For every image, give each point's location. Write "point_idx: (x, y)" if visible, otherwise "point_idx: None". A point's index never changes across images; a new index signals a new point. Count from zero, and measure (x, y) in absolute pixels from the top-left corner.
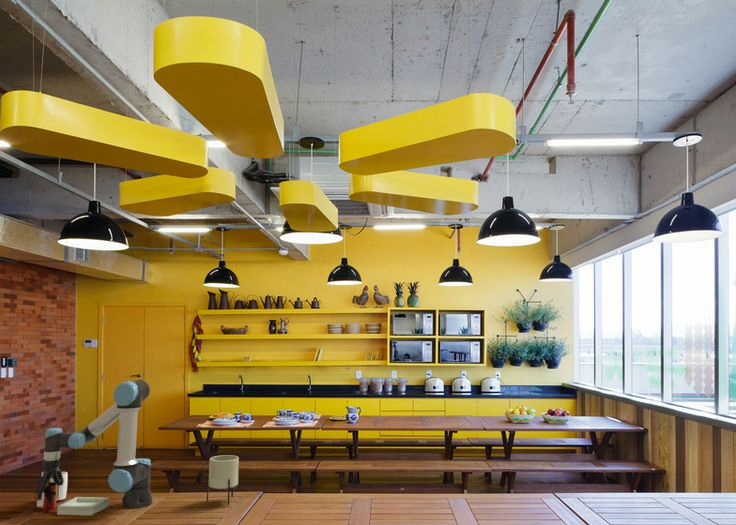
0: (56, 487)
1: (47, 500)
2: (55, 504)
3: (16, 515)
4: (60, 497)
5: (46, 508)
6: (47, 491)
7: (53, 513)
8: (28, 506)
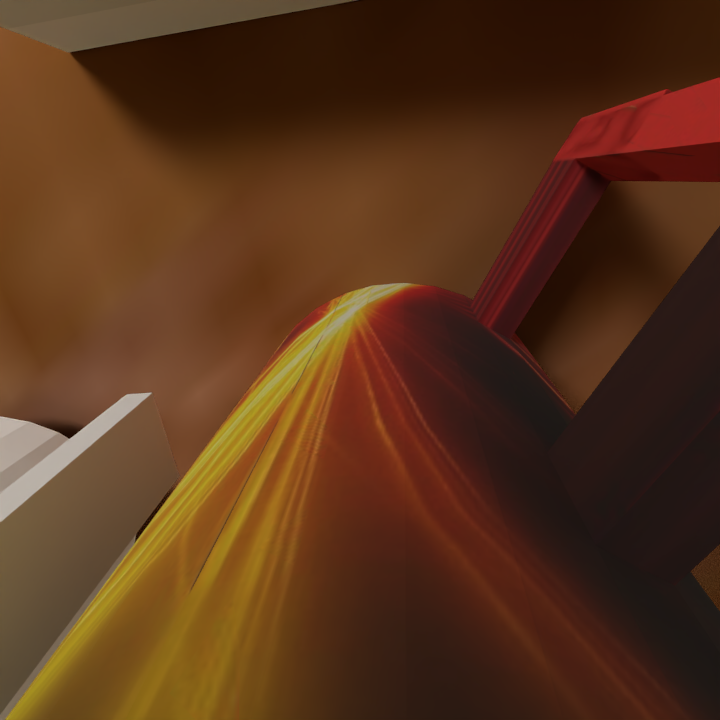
0: (204, 556)
1: (558, 395)
2: (313, 320)
3: (715, 570)
4: (35, 454)
5: (517, 337)
6: (708, 600)
7: (631, 95)
8: None
